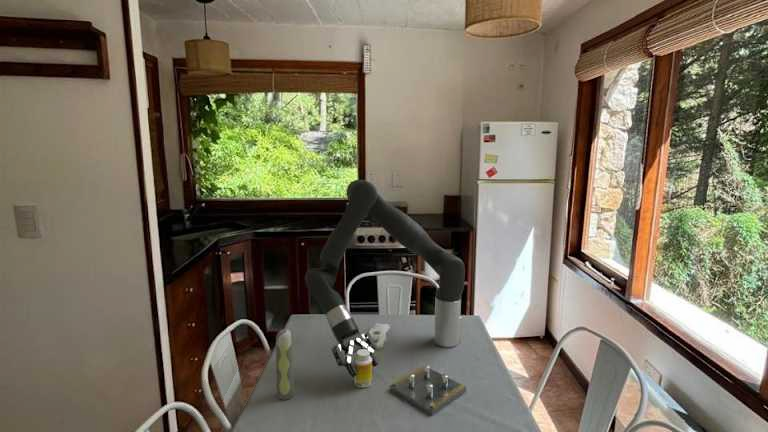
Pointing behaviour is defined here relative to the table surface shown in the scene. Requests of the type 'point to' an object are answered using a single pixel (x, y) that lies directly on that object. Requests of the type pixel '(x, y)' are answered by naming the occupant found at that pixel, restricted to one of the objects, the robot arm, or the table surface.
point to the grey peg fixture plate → (428, 389)
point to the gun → (379, 334)
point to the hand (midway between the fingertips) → (365, 370)
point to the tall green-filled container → (284, 365)
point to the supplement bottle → (363, 368)
